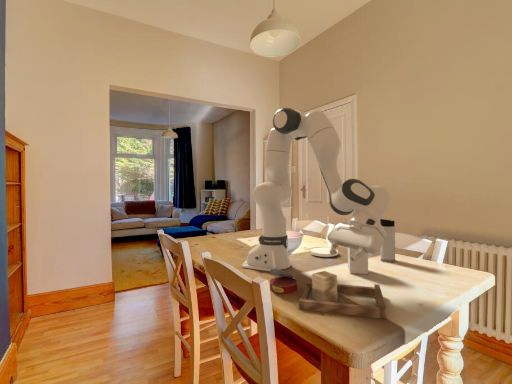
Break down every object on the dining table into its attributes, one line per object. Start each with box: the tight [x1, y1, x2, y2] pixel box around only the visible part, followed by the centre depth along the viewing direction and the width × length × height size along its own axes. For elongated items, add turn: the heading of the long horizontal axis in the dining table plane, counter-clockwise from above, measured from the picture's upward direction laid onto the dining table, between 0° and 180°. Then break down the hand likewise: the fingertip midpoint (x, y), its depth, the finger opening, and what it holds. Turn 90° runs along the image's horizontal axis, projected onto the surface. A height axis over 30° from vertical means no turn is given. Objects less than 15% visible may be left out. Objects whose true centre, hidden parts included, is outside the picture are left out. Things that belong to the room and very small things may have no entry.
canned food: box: [268, 269, 298, 295], centre depth 100 cm, size 11×10×10 cm
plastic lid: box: [310, 246, 339, 258], centre depth 146 cm, size 14×14×2 cm
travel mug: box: [379, 218, 396, 263], centre depth 131 cm, size 6×7×20 cm
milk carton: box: [347, 248, 369, 275], centre depth 117 cm, size 7×7×19 cm
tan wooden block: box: [311, 270, 338, 302], centre depth 89 cm, size 6×6×8 cm
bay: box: [298, 281, 387, 320], centre depth 88 cm, size 24×17×4 cm
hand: (341, 256), depth 93 cm, fingers open, 8 cm apart
